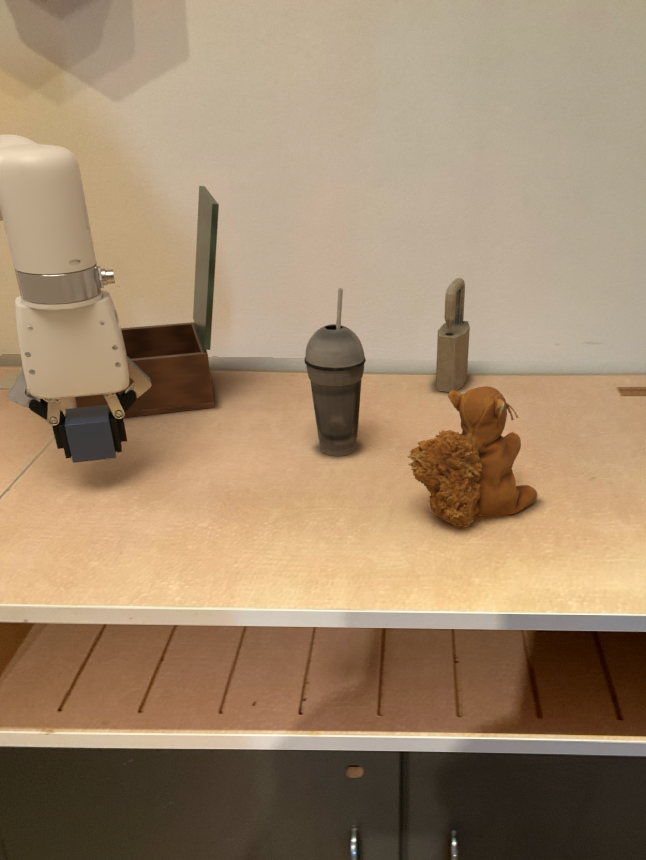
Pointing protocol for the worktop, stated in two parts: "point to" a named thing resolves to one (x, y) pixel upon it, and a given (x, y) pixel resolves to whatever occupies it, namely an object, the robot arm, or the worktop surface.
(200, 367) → the chest
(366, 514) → the worktop surface
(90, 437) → the block
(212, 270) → the lid
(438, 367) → the padlock
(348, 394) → the beverage cup
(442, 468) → the stuffed squirrel
